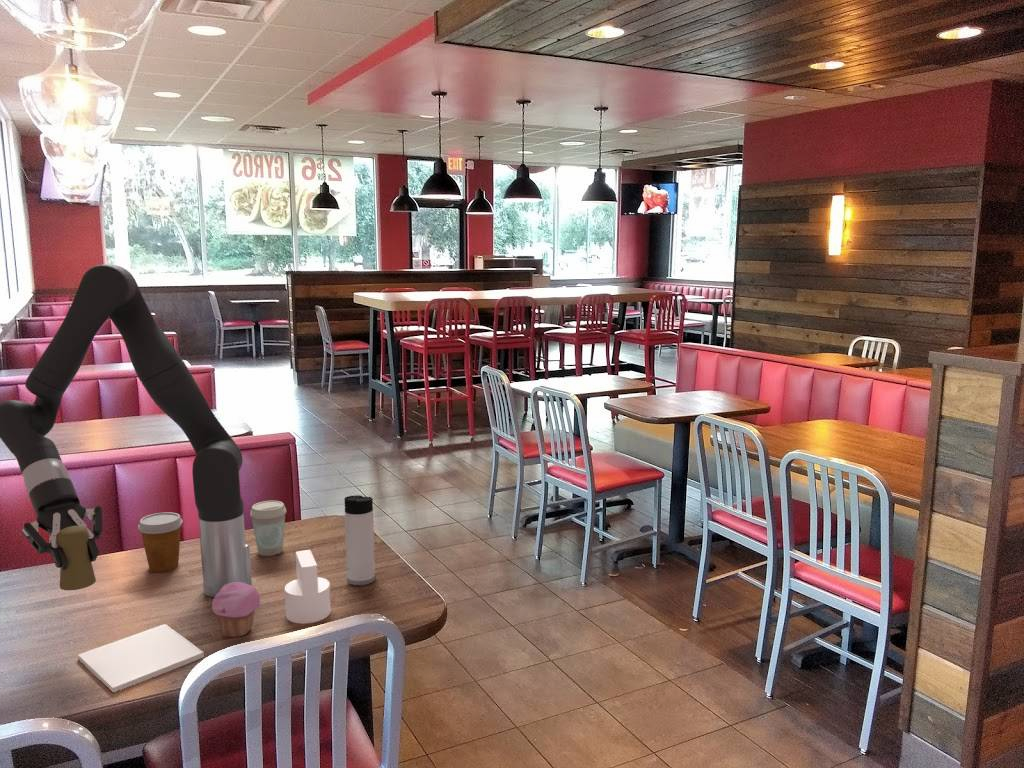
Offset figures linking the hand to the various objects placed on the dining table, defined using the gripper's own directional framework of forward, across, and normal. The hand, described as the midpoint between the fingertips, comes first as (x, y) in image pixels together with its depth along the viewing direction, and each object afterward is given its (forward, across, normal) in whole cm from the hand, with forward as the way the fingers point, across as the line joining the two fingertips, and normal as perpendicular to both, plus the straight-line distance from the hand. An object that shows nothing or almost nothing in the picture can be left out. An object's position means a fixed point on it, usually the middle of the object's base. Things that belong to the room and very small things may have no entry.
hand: (79, 563), depth 145 cm
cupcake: (+23, +22, +1) cm, 32 cm away
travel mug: (+22, +53, +2) cm, 57 cm away
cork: (+2, 0, +5) cm, 5 cm away
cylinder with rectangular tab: (+26, +36, -1) cm, 44 cm away
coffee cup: (+1, +48, +23) cm, 53 cm away
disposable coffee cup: (-6, +26, +30) cm, 40 cm away
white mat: (+20, +5, +3) cm, 21 cm away
